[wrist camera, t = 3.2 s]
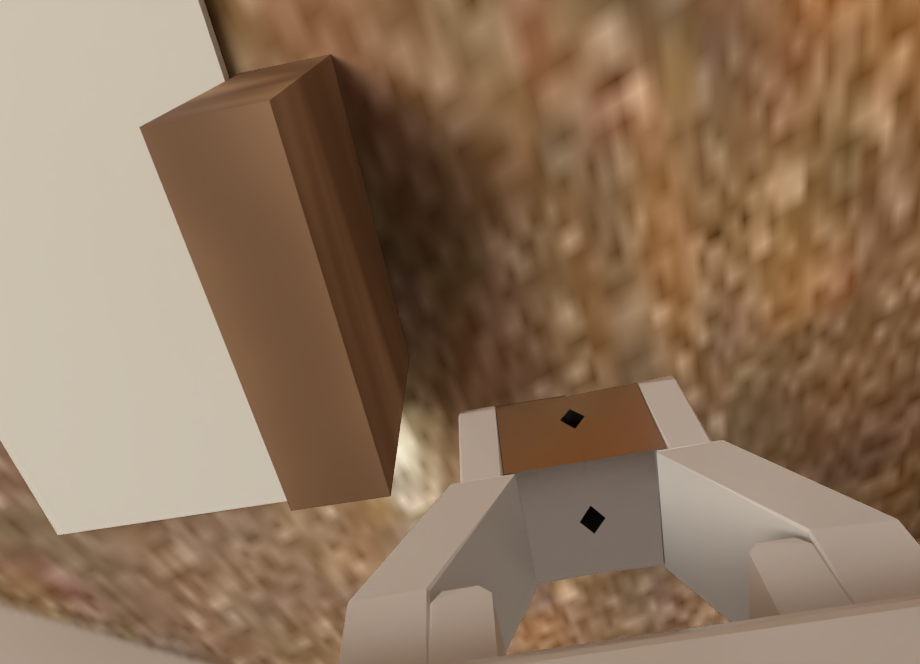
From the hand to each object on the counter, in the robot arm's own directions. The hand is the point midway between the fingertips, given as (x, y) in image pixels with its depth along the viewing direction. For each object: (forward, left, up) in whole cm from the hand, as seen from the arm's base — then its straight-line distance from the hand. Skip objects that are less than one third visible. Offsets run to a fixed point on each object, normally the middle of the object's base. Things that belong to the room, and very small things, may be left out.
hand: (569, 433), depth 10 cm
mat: (+12, 0, -11) cm, 16 cm away
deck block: (+5, 0, -11) cm, 12 cm away
